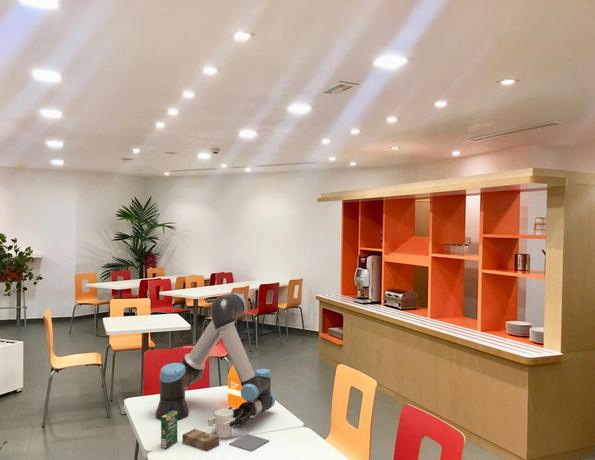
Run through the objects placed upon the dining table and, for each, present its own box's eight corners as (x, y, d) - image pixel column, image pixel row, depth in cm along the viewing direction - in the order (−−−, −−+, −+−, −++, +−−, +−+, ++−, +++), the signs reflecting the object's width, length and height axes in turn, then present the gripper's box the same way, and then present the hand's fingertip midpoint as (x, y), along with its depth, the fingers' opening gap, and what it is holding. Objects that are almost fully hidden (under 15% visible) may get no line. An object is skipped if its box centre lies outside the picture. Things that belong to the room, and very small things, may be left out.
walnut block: (182, 443, 210) (182, 431, 210) (194, 437, 216) (194, 426, 216) (207, 451, 202) (207, 439, 202) (219, 445, 208) (219, 433, 208)
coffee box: (166, 449, 203) (166, 417, 203) (160, 448, 204) (160, 416, 204) (177, 441, 211) (178, 410, 211) (172, 440, 212) (172, 409, 212)
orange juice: (237, 400, 262) (238, 362, 261) (250, 404, 256) (250, 364, 256) (227, 404, 255) (227, 365, 255) (240, 408, 250) (240, 368, 250)
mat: (228, 444, 208) (228, 443, 208) (247, 434, 218) (247, 433, 218) (251, 451, 202) (251, 450, 202) (269, 441, 212) (269, 440, 212)
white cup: (229, 439, 213) (229, 416, 213) (211, 438, 215) (212, 414, 215) (235, 432, 221) (235, 409, 221) (218, 430, 222) (218, 408, 222)
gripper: (267, 421, 227) (234, 439, 208) (233, 412, 238) (198, 428, 219) (267, 405, 227) (234, 421, 208) (233, 396, 238) (198, 411, 219)
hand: (216, 424), depth 214 cm, fingers closed on white cup, 8 cm apart
